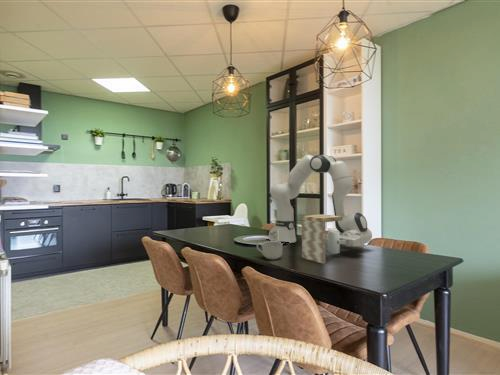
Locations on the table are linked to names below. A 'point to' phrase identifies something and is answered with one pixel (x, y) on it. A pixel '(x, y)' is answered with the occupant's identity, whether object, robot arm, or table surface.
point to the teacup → (271, 249)
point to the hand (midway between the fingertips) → (332, 241)
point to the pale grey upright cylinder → (333, 242)
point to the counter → (315, 236)
